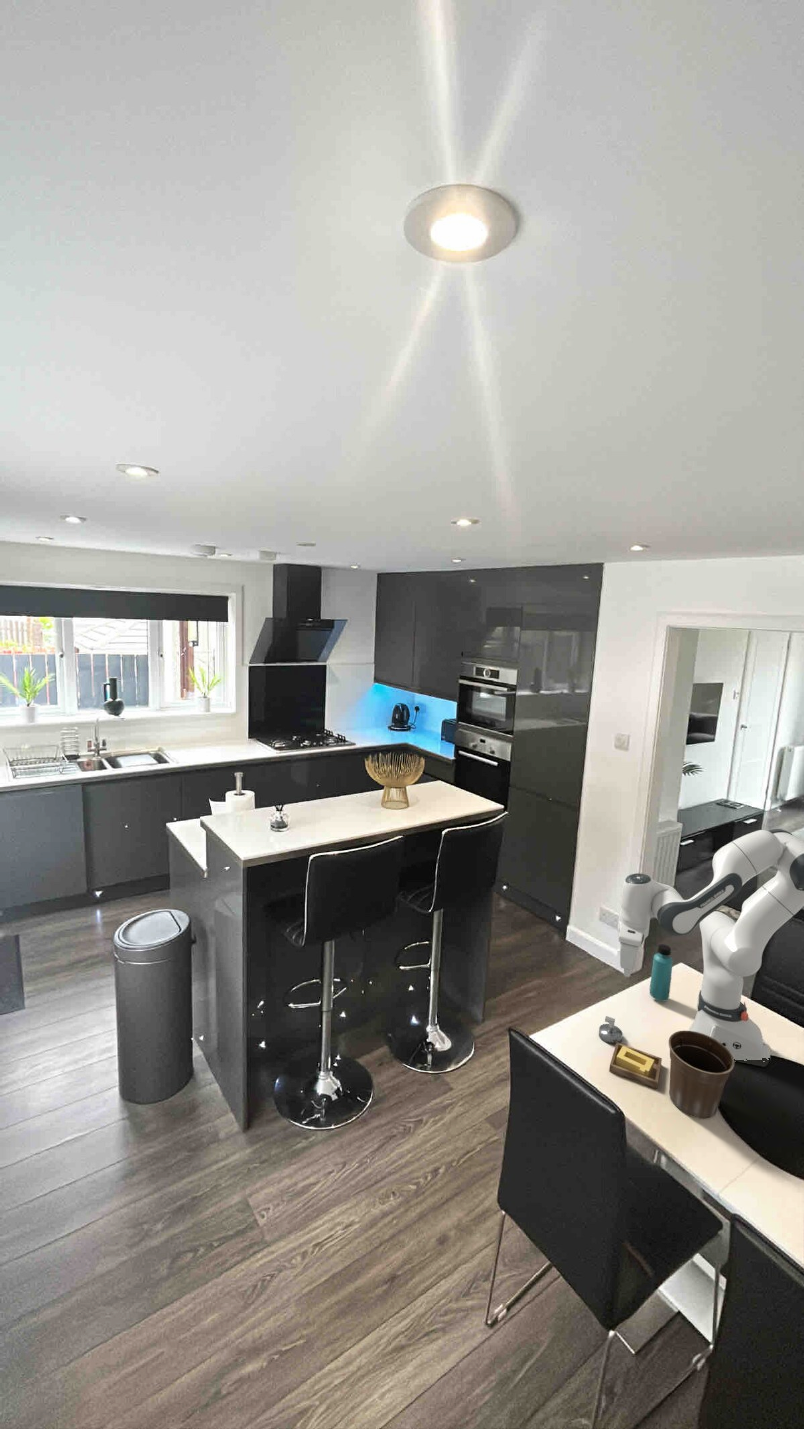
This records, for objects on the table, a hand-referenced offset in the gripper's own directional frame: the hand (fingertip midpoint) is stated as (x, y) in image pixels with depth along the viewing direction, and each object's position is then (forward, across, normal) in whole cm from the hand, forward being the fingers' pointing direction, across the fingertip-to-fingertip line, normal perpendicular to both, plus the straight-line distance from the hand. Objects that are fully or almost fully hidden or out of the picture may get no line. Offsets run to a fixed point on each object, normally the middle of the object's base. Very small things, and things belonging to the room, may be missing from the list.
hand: (629, 967), depth 190 cm
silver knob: (+25, +1, -3) cm, 25 cm away
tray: (+25, +11, +5) cm, 28 cm away
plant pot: (+25, +16, +21) cm, 37 cm away
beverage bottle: (+26, -28, +8) cm, 39 cm away
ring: (+24, +11, +5) cm, 27 cm away
